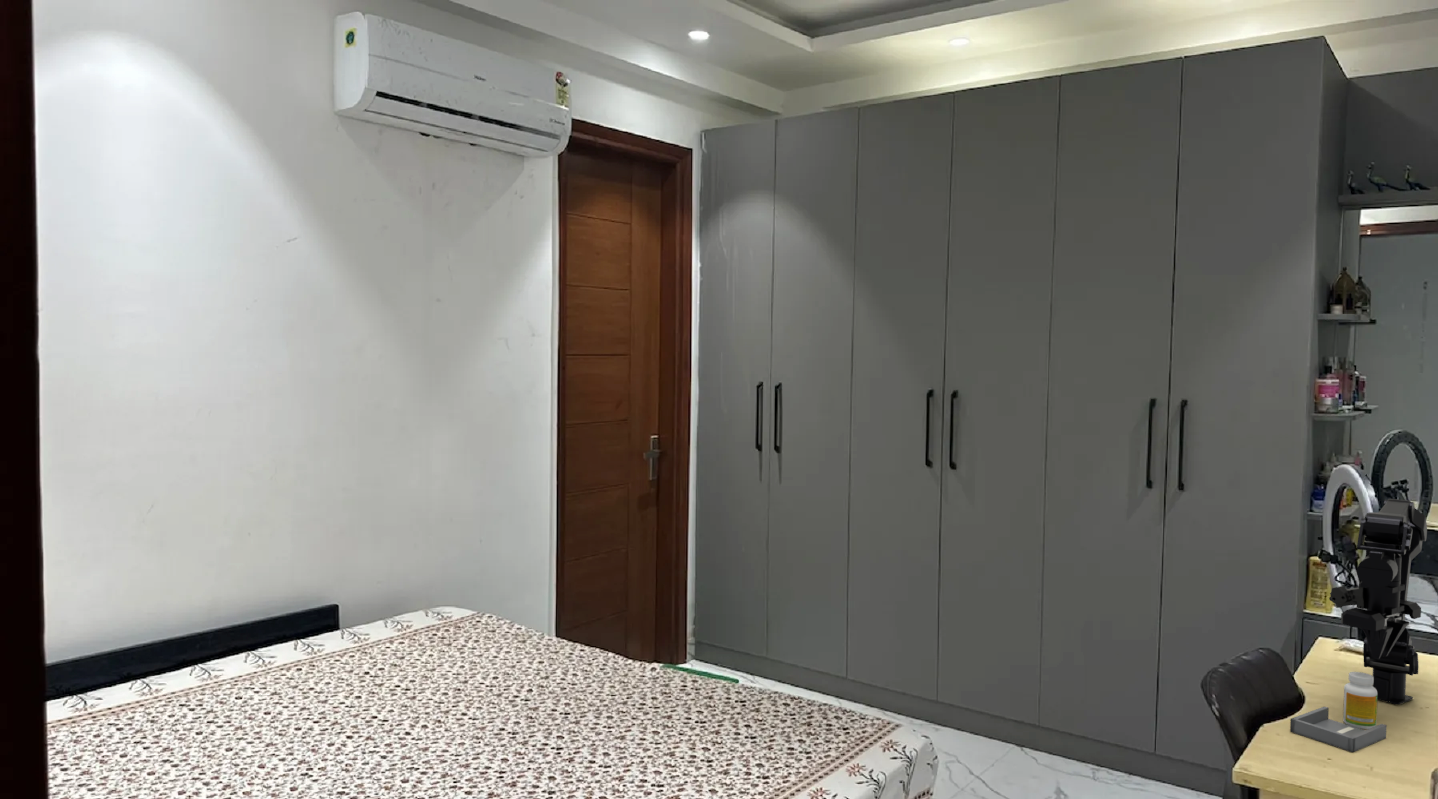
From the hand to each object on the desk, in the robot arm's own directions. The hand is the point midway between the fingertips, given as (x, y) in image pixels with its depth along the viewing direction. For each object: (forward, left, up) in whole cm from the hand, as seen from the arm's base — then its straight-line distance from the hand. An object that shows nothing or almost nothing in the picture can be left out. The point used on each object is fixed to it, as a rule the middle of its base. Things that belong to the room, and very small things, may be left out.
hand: (1379, 656), depth 190 cm
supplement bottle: (+7, 0, -12) cm, 14 cm away
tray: (+16, +1, -12) cm, 20 cm away
